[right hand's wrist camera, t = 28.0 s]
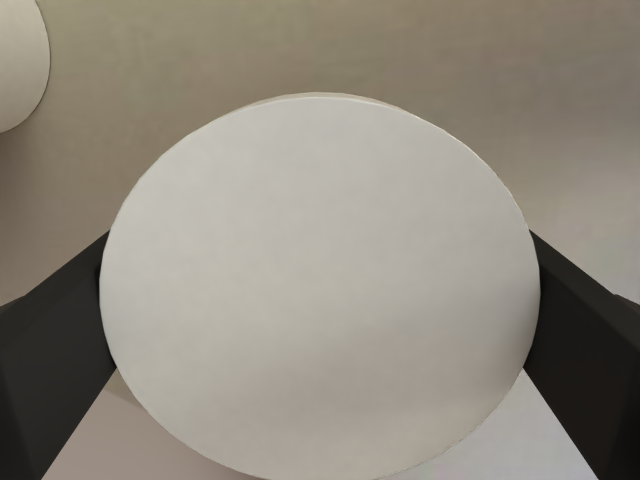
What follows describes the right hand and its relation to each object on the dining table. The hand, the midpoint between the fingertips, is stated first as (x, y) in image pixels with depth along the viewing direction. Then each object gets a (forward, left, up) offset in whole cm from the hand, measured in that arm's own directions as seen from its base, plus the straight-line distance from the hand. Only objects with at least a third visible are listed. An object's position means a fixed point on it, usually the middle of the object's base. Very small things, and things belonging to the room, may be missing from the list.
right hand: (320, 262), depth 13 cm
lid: (0, 0, +3) cm, 3 cm away
